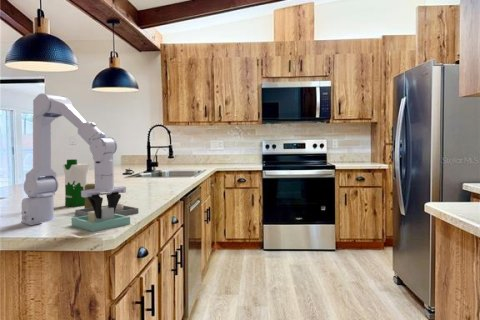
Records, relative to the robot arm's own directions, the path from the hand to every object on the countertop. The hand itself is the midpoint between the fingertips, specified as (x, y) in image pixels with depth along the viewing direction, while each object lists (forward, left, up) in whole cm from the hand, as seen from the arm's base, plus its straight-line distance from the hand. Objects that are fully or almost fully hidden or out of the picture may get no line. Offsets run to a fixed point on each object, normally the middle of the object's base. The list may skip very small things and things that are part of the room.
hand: (105, 217), depth 123 cm
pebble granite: (+16, +17, -3) cm, 24 cm away
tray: (+11, +17, -3) cm, 21 cm away
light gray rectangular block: (0, 0, -1) cm, 1 cm away
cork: (+12, +30, -4) cm, 33 cm away
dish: (0, +2, -3) cm, 4 cm away
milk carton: (+15, +48, -4) cm, 51 cm away
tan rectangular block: (0, +5, -3) cm, 6 cm away
